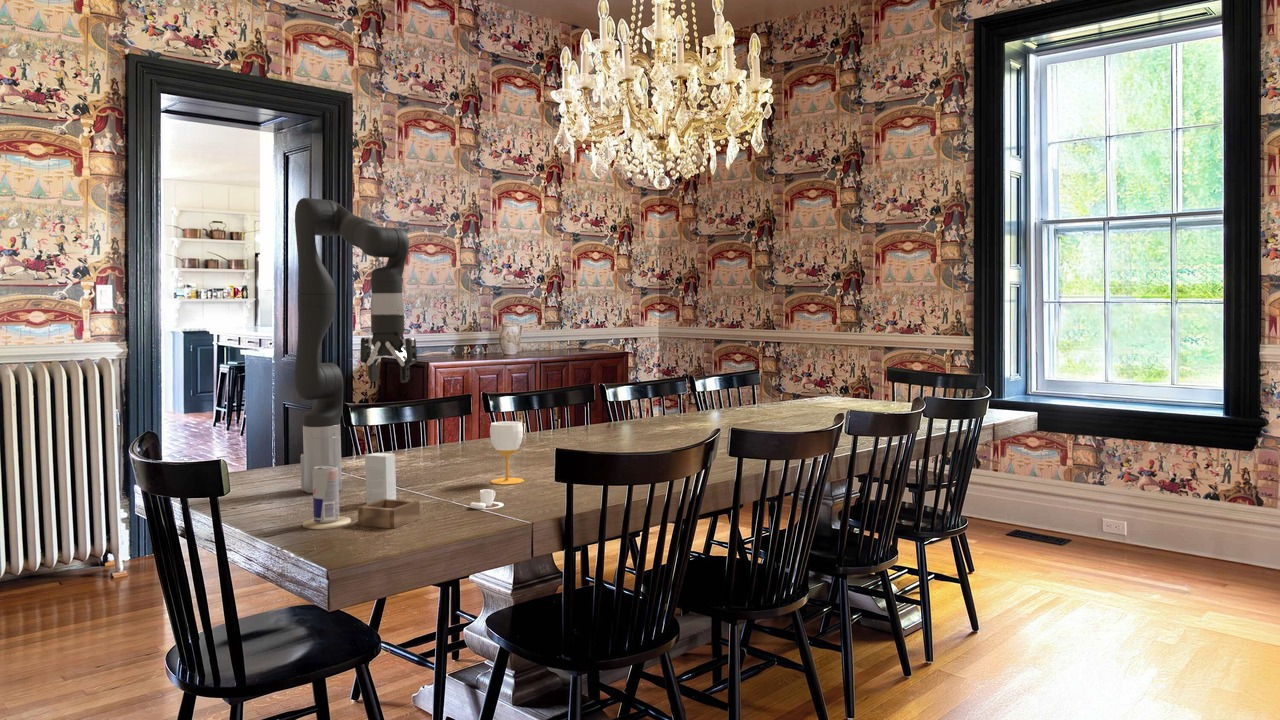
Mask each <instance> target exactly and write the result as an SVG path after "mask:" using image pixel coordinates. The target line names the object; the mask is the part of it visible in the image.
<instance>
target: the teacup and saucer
mask: <svg viewBox="0 0 1280 720" xmlns="http://www.w3.org/2000/svg"><path fill="white" fill-rule="evenodd" d="M479 497H480V498H479V499H480V502H477V501H473V502H470V504H469V505H470V506H469V507H470V508H471V509H475V510H492V509H494V510H495V509H499V508H502V507H504V502H500V501H494V500H495V498H496V491H495V490H493V489H492V488H491V489H489V488H487V489H485V488H483V489H480V490H479ZM493 504H495V505H498V506H495V507H491V506H492V505H493ZM486 507H487V508H486Z"/></svg>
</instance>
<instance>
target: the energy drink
mask: <svg viewBox="0 0 1280 720" xmlns="http://www.w3.org/2000/svg"><path fill="white" fill-rule="evenodd" d="M312 501H313V502H312V505H313V518H314V521H315V522H316V523H332V522H336V521H338V520H339V516H340V490H339V479H338V468H337V466H335V465H322V466H316V467H314V469H313V493H312Z"/></svg>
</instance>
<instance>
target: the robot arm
mask: <svg viewBox="0 0 1280 720" xmlns="http://www.w3.org/2000/svg"><path fill="white" fill-rule="evenodd" d="M294 211H295V212H294V228H295V229H294V230H295V240H296V248H297V249H296V250H297V251H296V252H297V324H298V325H297V346H296V356H295V364H294V379H293V380H294V388H295V391H296V393H297V395H298V396H299V397H300V398H301V399H302V400H304V401H313V400H316V403H315V405H314V407H312V409H310V410H309V411H307V412H306V413H304V414H303V416H302V437H303V438H302V439H303V440H302V441H303V443H302V444H303V447H302V449H303V453H301V454H300V479H301V480H300V484H301V485H300V487H301V492H306V493H308V494H313V469H314V467H316V466H322V465H335V466H337V468H338V479H339V491H341V490H342V489H343V483H342V482H343V481H342V480H343V479H342V478H343V477H342V440H341V439H342V437H341V417H342V414H343V410H344V377H343V374H342V371H341V369H340V367H339V366H338V365H337V364H335V363H334V362H320V350H321V345H322V342H323V340H324V338H325V336H326V334H327V332H328V330H329V328H330V326H331V324H332V323H333V321H334V318H335V315H336V309H337V308H336V306H337V303H336V302H337V301H336V299H337V297H336V296H337V295H336V294H337V293H336V286H335V283H334V281H333V279H332V277H331V275H330V273H329V272H328V270H327V269H326V267H325V265H324V264H323V262H322V261H321V259H320V255H319V253H318V249H317V243H316V236H323V237H331V236H340V237H342V238H343V240H344V241H346V242H347V243H348V244H350V245H352V246H354V247H357V248H359V249H360V250H361V251H362V252H363V253H364V254H365V255H366V256H369V257H373V258H388V260H387V262H386V264H385V266H382V267H378V268H375V269H372V271H371V273H370V275H371V277H370V282H371V283H370V284H371V286H370V287H371V288H370V289H371V292H370V293H371V295H370V296H371V298H370V329H371V330H370V331H371V333H372V338H371V337H370V336H369V337H366V336H365V337H361V338H360V353H359V354H360V357H359V360H360V363H363V364H365V365H366V366H367V374H368V375H367V377H368V380H369V382H373V383H374V382H378V380H379V376H378V375H379V374H378V373H379V371H378V370H379V367H378V365H377V364H378V363H379V361H380V360H381V359H382V358H383V357H393V358H394V359H396V360H397V362H398V364H399V380H400V381H399V382H400V383H402V384H403V383H408V382H409V381H410V378H411V376H410V374H411V373H410V366H412V365H413V364H416V363H418V352H417V340H416V338H415V337H407V338H405V337H404V333H405V305H404V304H405V303H404V302H405V301H404V295H403V273H404V269H405V265H406V261H407V258H408V254H409V249H410V240H409V239H410V238H409V237H408V234H407V233H406V231H405V230H403V229H402V228H400V227H388V226H387V227H386V226H379V225H378V224H377V223H376V222H374V221H372V220H369V219H366V218H364V217H360V216H357V215H355V214H354V213H352V212H350V211H349V210H348V209H347V208H345V207H344V206H343V205H341V204H340V203H338V202H336V201H334V200H332V199H321V198H310V197H303V198H300V199H299V201H297V203H296V206H295V210H294ZM372 347H373V348H372ZM403 347H405V350H404V348H403Z"/></svg>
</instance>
